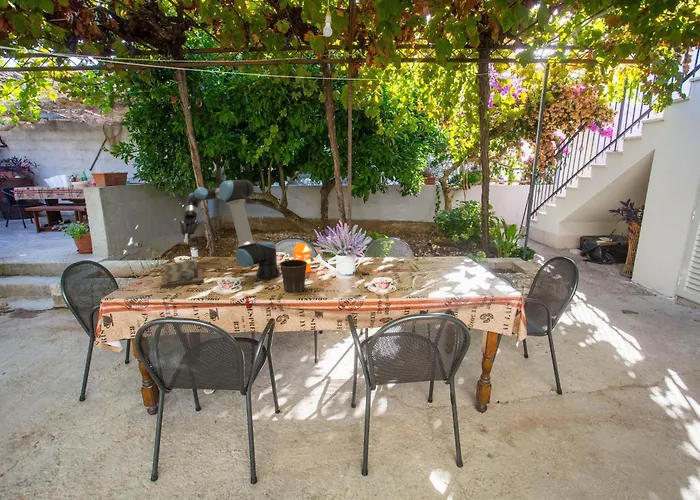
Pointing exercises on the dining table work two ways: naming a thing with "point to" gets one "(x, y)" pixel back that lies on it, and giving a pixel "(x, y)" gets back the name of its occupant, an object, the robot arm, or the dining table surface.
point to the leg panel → (178, 270)
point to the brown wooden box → (185, 278)
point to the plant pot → (293, 275)
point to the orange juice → (302, 254)
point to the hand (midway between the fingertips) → (185, 242)
